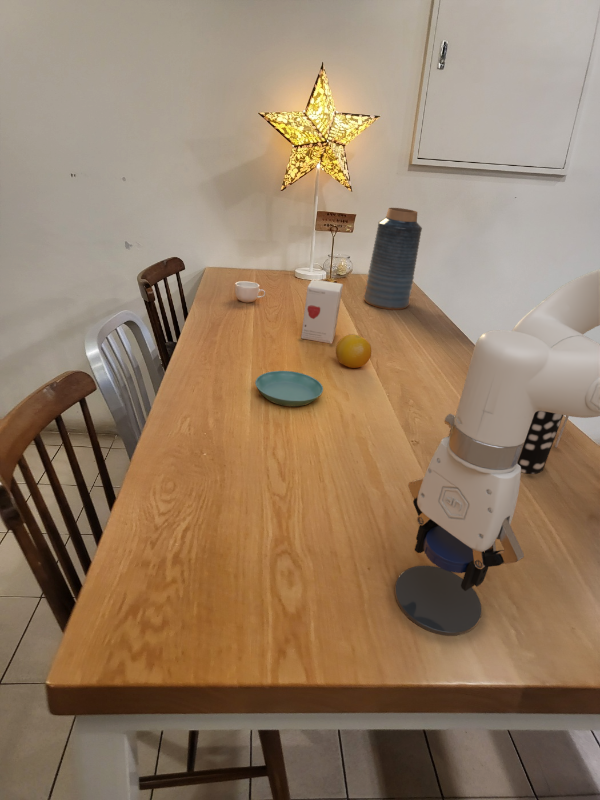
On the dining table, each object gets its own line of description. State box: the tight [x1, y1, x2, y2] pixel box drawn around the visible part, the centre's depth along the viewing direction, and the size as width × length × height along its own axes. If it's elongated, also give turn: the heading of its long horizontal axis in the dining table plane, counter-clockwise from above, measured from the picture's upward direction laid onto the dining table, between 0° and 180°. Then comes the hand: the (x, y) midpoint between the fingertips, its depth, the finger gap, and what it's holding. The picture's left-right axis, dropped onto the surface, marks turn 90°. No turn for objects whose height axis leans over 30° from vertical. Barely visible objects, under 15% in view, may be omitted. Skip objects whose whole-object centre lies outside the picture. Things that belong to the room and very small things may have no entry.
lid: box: [423, 526, 474, 574], centre depth 66 cm, size 6×6×2 cm
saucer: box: [254, 370, 324, 408], centre depth 117 cm, size 15×15×3 cm
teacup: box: [234, 280, 266, 304], centre depth 175 cm, size 10×8×5 cm
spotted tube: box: [517, 411, 564, 475], centre depth 99 cm, size 8×8×20 cm
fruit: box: [335, 333, 372, 369], centre depth 135 cm, size 9×8×8 cm
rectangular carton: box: [300, 278, 344, 344], centre depth 150 cm, size 9×9×15 cm
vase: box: [363, 207, 423, 311], centre depth 184 cm, size 16×16×32 cm
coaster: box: [394, 565, 483, 637], centre depth 69 cm, size 11×11×1 cm
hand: (446, 565), depth 67 cm, fingers closed on lid, 6 cm apart
